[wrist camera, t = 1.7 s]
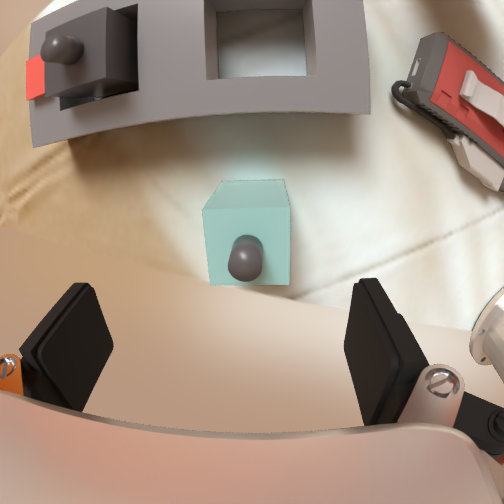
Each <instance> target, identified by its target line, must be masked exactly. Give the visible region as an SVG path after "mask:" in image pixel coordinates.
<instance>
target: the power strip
mask: <svg viewBox="0 0 504 504" xmlns="http://www.w3.org/2000/svg"><path fill="white" fill-rule="evenodd" d="M257 9H303V22H304V35H305V51H306V69H307V76H263V77H241V78H226V79H219V75H218V52H217V26H216V13H217V12H227V11H239V10H257ZM135 89H139V91H135V92H130V93H125V94H121V95H116V96H112V97H108V98H104V99H100V100H96V101H93V97H104V96H108V95H112V94H117V93H121V92H125V91H130V90H135ZM26 97H27V100H29V107H30V122H31V134H32V143H33V148H36V147H40V146H44V145H48V144H52V143H56V142H60V141H65V140H69V139H73V138H77V137H81V136H85V135H90V134H94V133H99V132H104V131H108V130H113V129H119V128H124V127H130V126H135V125H141V124H148V123H154V122H161V121H168V120H176V119H185V118H194V117H204V116H216V115H229V114H247V113H286V112H296V113H334V114H371V113H370V76H369V58H368V45H367V33H366V23H365V14H364V6H363V0H78V1H76V2H74V3H71V4H69V5H67V6H65V7H63V8H60V9H58V10H56V11H54V12H52V13H50V14H48V15H46V16H44V17H42V18H41V19H39V20H37V21H35V22H33V23H31V32H30V46H29V60H28V61H26Z"/></svg>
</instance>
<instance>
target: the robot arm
mask: <svg viewBox="0 0 504 504" xmlns="http://www.w3.org/2000/svg"><path fill="white" fill-rule="evenodd" d="M469 347H470V353H471V355H472V357H473V358H474V360H475V361H476V362H477V363H478V364H481V365H491V364H492V365H493V366H494V368H495V370H496V371H497V373H498V374H499V376H500V378H501V379H502V381H503V382H504V287H503V288H502V289H501V290H500V291H499V292H498V293H497V294H496V295H495V296H494V297H493V299H492V300H491V301H490V302H489V303H488V305H487V306H486V308H485V309H484V310H483V312H482V313H481V315H480V317H479V319H478V320H477V322H476V324H475V327H474V329H473V331H472V335H471V338H470V345H469ZM112 350H113V340H112V337H111V335H110V332H109V330H108V327H107V324H106V322H105V319H104V316H103V314H102V311H101V308H100V305H99V302H98V299H97V296H96V293H95V290H94V288H93V287H91V286H90V285H89V284H88V283H74V284H73V285H72V286H71V287H70V288H69V289H68V290H67V291H66V293H65V294H64V295H63V296H62V297H61V298H60V299H59V301H58V302H57V303H56V304H55V305H54V307H52V309H51V310H50V311H49V312H48V314H47V315H46V316H45V317H44V318H43V320H42V321H41V322H40V323H39V324H38V326H37V327H36V328H35V329H34V331H33V332H32V333H31V334H30V336H29V337H28V338H27V339H26V341H25V342H24V343H23V345H22V346H21V347H20V348H19V351H20V352H21V354H22V356H23V357H22V359H21V360H20V358H19V357H18V356H17V355H15V354H6V355H3V356H1V357H0V504H504V408H502V407H500V406H497V405H495V404H493V403H490V402H488V401H486V400H483V399H481V398H479V397H476V396H474V395H472V394H469V393H467V392H465V391H464V387H465V384H464V381H463V378H462V376H461V375H460V373H459V372H458V371H456V370H455V369H454V368H452V367H450V366H447V365H443V364H434V365H429V363H428V361H427V359H426V357H425V356H424V354H423V352H422V350H421V348H420V346H419V344H418V343H417V341H416V339H415V337H414V335H413V334H412V332H411V330H410V328H409V326H408V325H407V323H406V321H405V319H404V318H403V316H402V315H401V314H399V313H397V311H396V310H395V308H394V306H393V304H392V303H391V301H390V299H389V298H388V296H387V294H386V293H385V291H384V289H383V288H382V286H381V284H380V283H379V281H378V279H377V278H362V279H360V280H359V283H355V284H354V286H353V292H352V299H351V306H350V312H349V318H348V324H347V329H346V335H345V340H344V352H345V356H346V359H347V363H348V366H349V370H350V373H351V377H352V381H353V384H354V388H355V392H356V395H357V399H358V403H359V407H360V411H361V414H362V419H363V423H364V425H365V426H360V427H350V428H342V429H331V430H320V431H319V430H318V431H303V432H281V433H233V432H210V431H196V430H184V429H175V428H166V427H158V426H151V425H144V424H138V423H131V422H126V421H120V420H115V419H110V418H104V417H100V416H96V415H91V414H87V413H83V412H82V411H83V409H84V407H85V405H86V403H87V401H88V398H89V396H90V394H91V392H92V390H93V388H94V386H95V384H96V382H97V380H98V378H99V376H100V374H101V372H102V370H103V368H104V366H105V364H106V362H107V360H108V358H109V356H110V354H111V352H112Z"/></svg>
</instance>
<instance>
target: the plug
mask: <svg viewBox="0 0 504 504" xmlns="http://www.w3.org/2000/svg"><path fill="white" fill-rule="evenodd" d="M202 216H203V225H204V235H205V244H206V253H207V261H208V270H209V278H210V285H290V204H289V200H288V196H287V192H286V187H285V183H284V179H274V180H239V181H222V182H221V183H220V185H219V186H218V188H217V189H216V190H215V192H214V193H213V195H212V196H211V197H210V199H209V200H208V202H207V203H206V205H205V206H204V208H203V209H202Z"/></svg>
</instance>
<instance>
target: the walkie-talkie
mask: <svg viewBox="0 0 504 504" xmlns="http://www.w3.org/2000/svg"><path fill="white" fill-rule="evenodd" d="M400 86H403V87H404V89H403V92H402V93H403V95H404V97H405V98H404V97H403V96H402V95H400V93H399V87H400ZM391 91H392V94H393V96H394V97H395V98H396V99H397V100H398V101H399V102H400V103H402V104H404V105H406V106H407V107H409V108H411V109H412V110H414V111H416V112H417V113H419V114H420V115H422V116H424V117H425V118H427V119H428V120H430V121H431V122H433V123H434V124H436V125H437V126H439V127H440V128H441V129H442V130H443V132H444V134H445V135H446V136H447V137H448V139H447V141H448V142H450V143H451V145H452V148H453V150H454V153H455V156H456V159H457V161H458V164H459V165H460V166H461V167H463V168H464V169H465V170H467V171H468V172H470V173H471V174H472V175H474V176H475V177H476V178H477V179H479V180H480V181H481V183H482V184H483V185H484V186H486V187H487V188H489V189H491V190H494V191H496V192H497V191H498V190H499V191H501V192H502V191H503V192H504V82H503V81H502V80H501V79H500V78H499V77H497V76H496V75H495V73H493V72H491V70H490V69H488V68H487V67H486V65H484V64H482V62H481V61H479V60H478V59H477V58H476V57H474V56H473V55H472V54H471V53H470V52H468V51H467V50H466V49H465V48H463V47H461V45H460V44H457V43H456V42H455V40H452V39H451V38H450V37H449V36H447V35H445V34H444V33H443V32H441V33H434V34H431V35H429V36H426V37H424V38H422V39H420V43H419V46H418V49H417V52H416V55H415V58H414V61H413V64H412V67H411V70H410V72H409V75H408V78H407V81H402V80H400V81H396V82H395V83H394V84H393V86H392V89H391ZM451 132H453V133H451Z"/></svg>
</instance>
